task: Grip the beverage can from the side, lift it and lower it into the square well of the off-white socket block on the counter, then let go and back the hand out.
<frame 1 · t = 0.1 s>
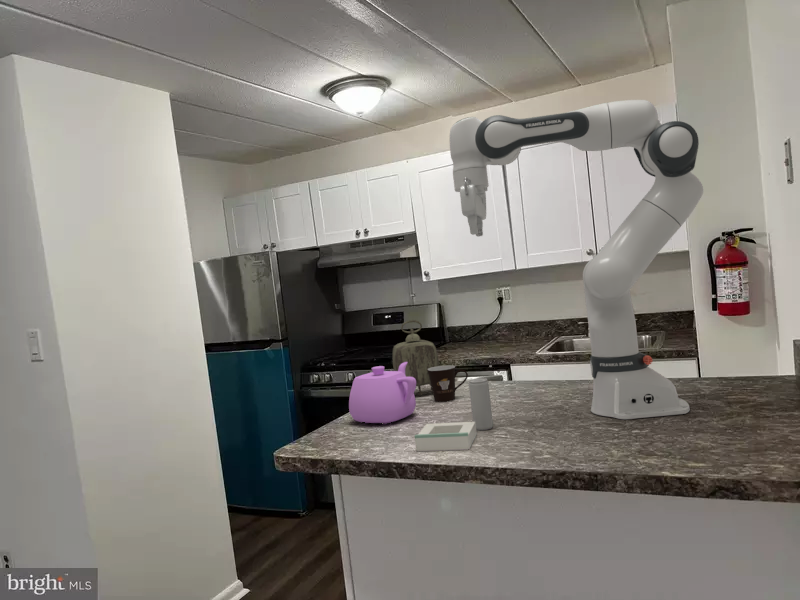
hand: (477, 235, 151), 48 cm above the countertop, tool pointing down, fingers open, 8 cm apart
teapot: (385, 419, 165), on the countertop
coffee mug: (449, 400, 181), on the countertop
socket block: (447, 442, 134), on the countertop
beverage can: (483, 429, 143), on the countertop
tabletop clock: (419, 395, 194), on the countertop
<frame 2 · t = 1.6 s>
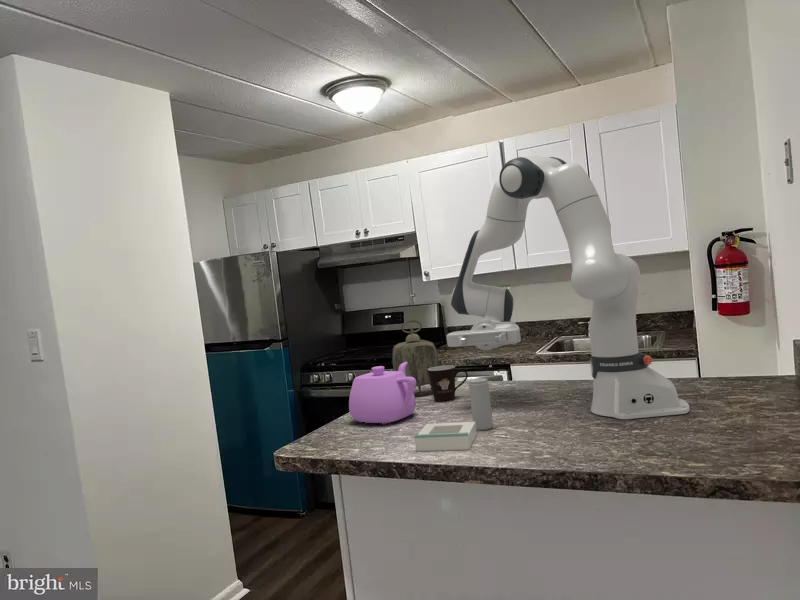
hand: (480, 340, 154), 20 cm above the countertop, tool horizontal, fingers open, 8 cm apart
nothing on the countertop moved.
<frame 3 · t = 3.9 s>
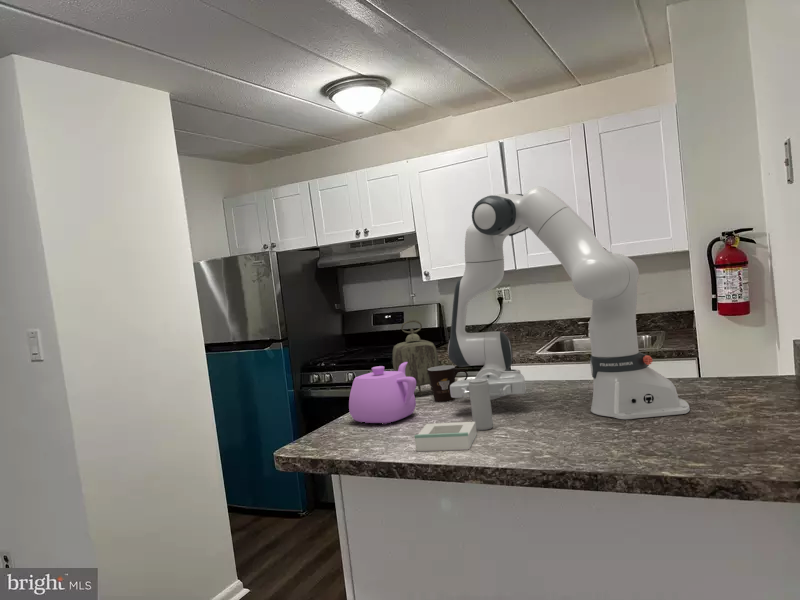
hand: (484, 393, 150), 7 cm above the countertop, tool horizontal, fingers open, 8 cm apart
nothing on the countertop moved.
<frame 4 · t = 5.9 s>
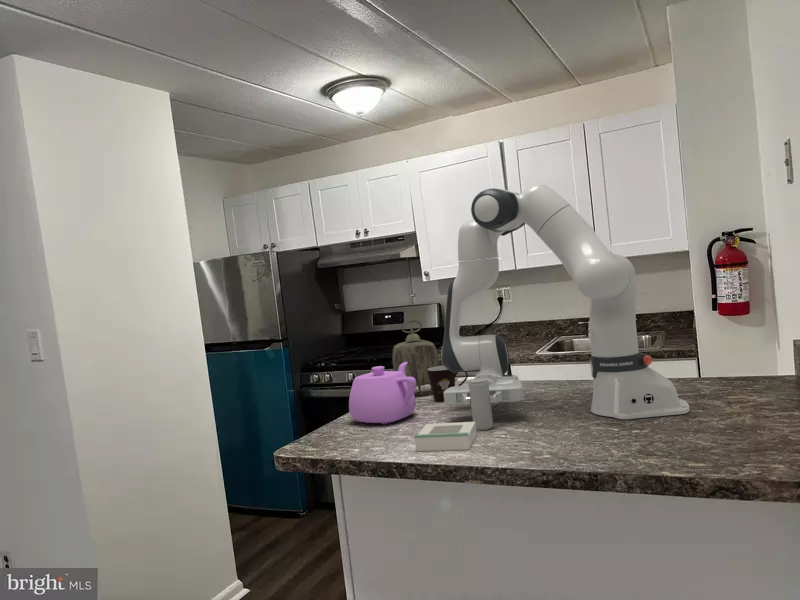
hand: (479, 400, 142), 7 cm above the countertop, tool horizontal, fingers closed on beverage can, 5 cm apart
beverage can: (483, 428, 143), on the countertop, touching gripper
everything else where it was.
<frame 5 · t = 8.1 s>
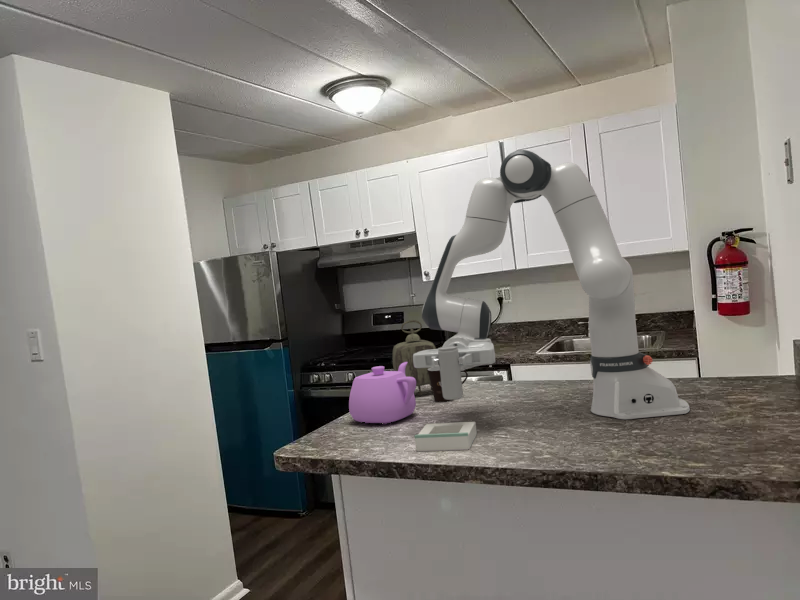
hand: (448, 362, 136), 18 cm above the countertop, tool horizontal, fingers closed on beverage can, 5 cm apart
beverage can: (453, 398, 137), point 9 cm above the countertop, touching gripper
everything else where it was.
when the fingers open (9 cm above the countertop, at t = 10.2 s): beverage can stays where it is, resting in socket block.
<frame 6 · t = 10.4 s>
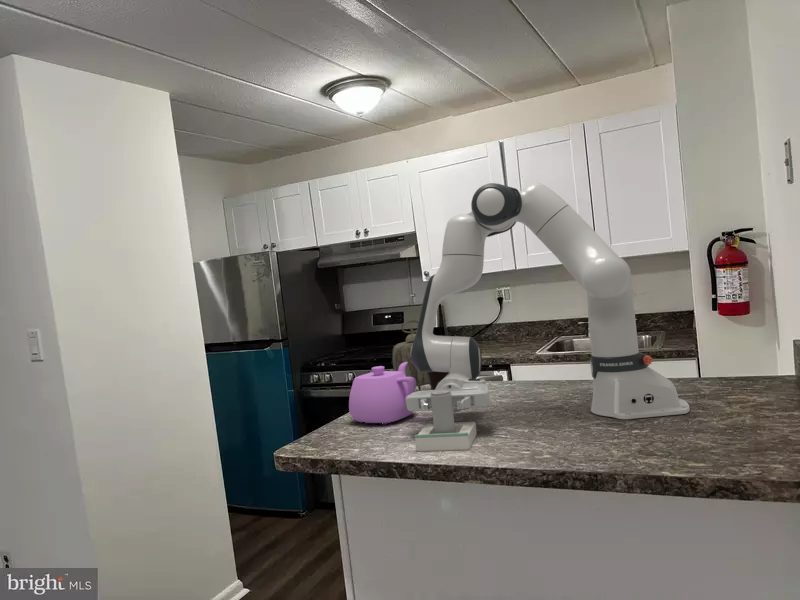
hand: (442, 406, 133), 9 cm above the countertop, tool horizontal, fingers open, 7 cm apart
beverage can: (446, 443, 134), resting in socket block
everything else where it was.
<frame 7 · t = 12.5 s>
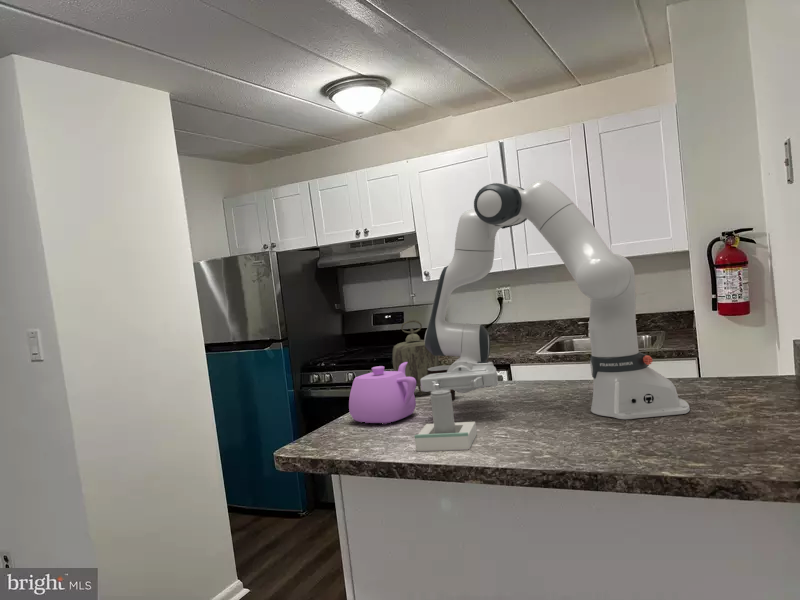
hand: (454, 386, 146), 11 cm above the countertop, tool horizontal, fingers open, 8 cm apart
nothing on the countertop moved.
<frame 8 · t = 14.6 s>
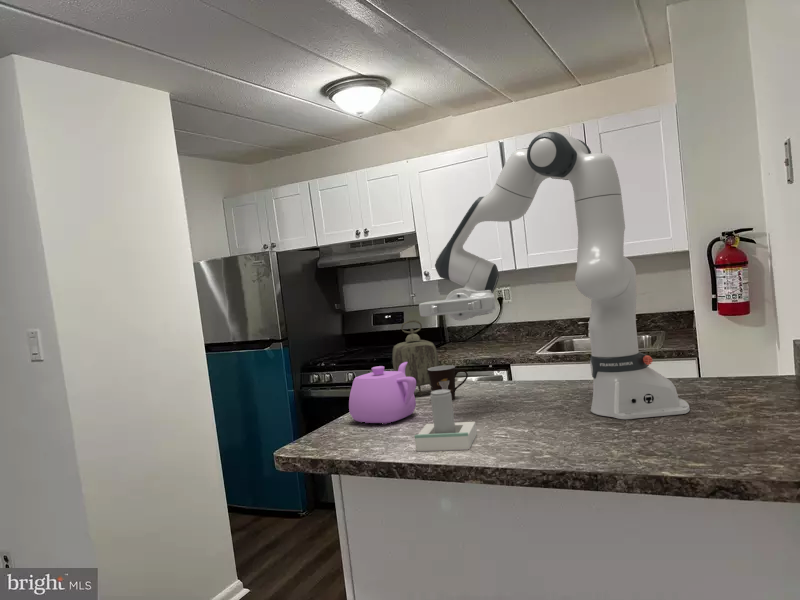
hand: (452, 308, 147), 30 cm above the countertop, tool horizontal, fingers open, 8 cm apart
nothing on the countertop moved.
at the end: beverage can 0.3 cm from the socket block (horizontally); beverage can tilted 0°; the gripper is holding nothing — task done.
